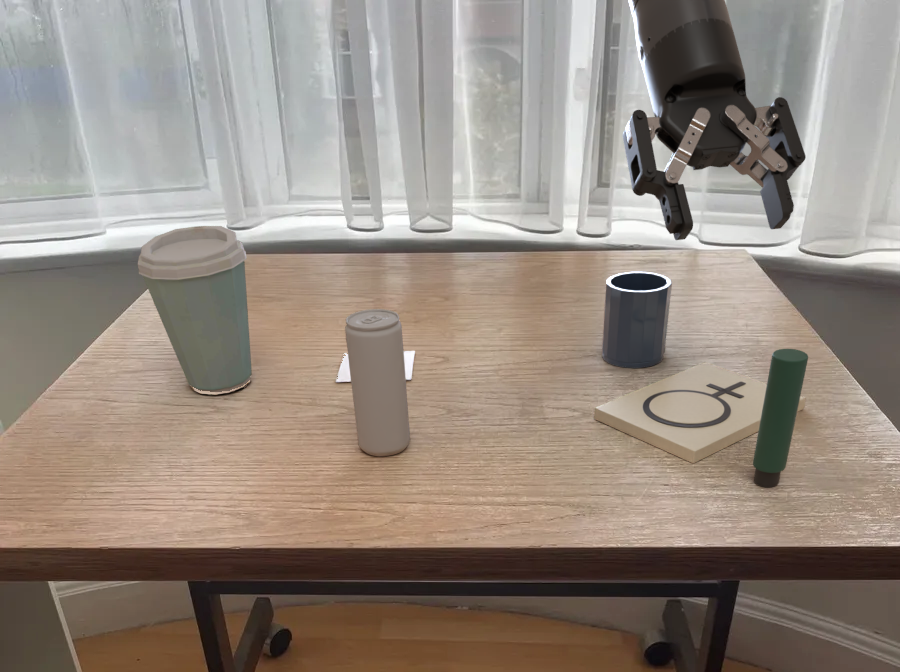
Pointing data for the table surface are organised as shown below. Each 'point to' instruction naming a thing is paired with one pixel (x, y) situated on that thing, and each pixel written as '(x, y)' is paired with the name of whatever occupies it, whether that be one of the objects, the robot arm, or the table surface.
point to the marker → (778, 415)
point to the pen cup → (635, 319)
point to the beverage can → (378, 381)
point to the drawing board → (691, 411)
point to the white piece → (345, 370)
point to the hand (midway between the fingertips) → (733, 229)
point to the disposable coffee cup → (202, 302)
